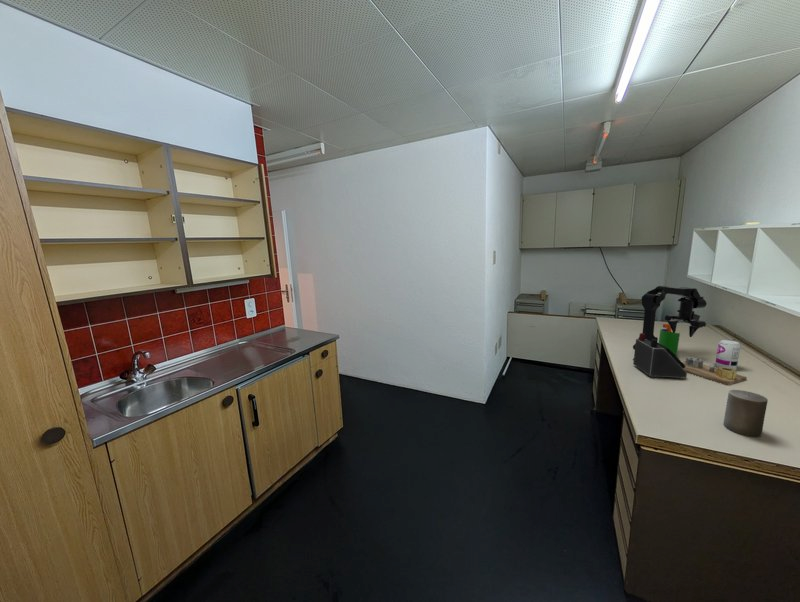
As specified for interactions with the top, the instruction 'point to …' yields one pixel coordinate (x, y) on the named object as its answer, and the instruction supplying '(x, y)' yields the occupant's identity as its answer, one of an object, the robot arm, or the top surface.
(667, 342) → the motor
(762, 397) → the pillar candle
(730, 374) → the brass gear
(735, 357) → the supplement can
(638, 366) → the voltmeter
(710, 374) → the board
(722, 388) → the top surface
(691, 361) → the steel gear
